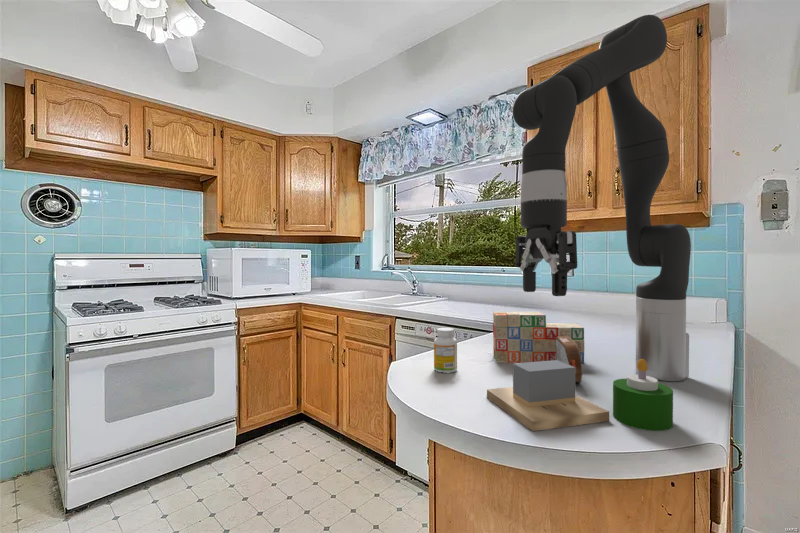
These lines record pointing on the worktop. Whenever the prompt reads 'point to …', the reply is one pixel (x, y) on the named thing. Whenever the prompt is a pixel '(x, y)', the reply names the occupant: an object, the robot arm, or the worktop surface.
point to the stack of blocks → (530, 337)
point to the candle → (643, 401)
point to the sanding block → (543, 383)
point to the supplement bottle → (445, 351)
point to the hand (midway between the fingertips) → (543, 293)
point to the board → (548, 411)
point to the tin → (569, 354)
